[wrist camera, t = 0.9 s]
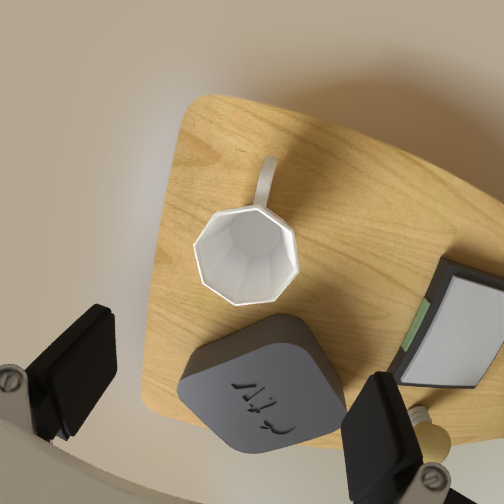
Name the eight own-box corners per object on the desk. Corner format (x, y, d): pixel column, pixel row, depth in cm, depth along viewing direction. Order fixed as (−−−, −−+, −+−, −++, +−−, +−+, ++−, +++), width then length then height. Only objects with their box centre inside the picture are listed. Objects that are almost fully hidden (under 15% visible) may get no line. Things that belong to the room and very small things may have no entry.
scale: (438, 255, 26) (450, 265, 23) (520, 284, 25) (532, 292, 23) (383, 373, 30) (388, 387, 28) (469, 380, 30) (476, 391, 28)
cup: (211, 255, 28) (185, 293, 20) (233, 147, 25) (211, 144, 17) (285, 273, 28) (285, 318, 20) (313, 166, 24) (327, 172, 17)
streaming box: (348, 392, 32) (355, 423, 27) (247, 427, 35) (242, 457, 30) (294, 303, 29) (295, 332, 24) (180, 354, 32) (165, 384, 27)
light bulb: (400, 399, 32) (420, 458, 22) (440, 393, 31) (464, 446, 22) (387, 429, 34) (401, 483, 24) (425, 422, 33) (443, 472, 24)
